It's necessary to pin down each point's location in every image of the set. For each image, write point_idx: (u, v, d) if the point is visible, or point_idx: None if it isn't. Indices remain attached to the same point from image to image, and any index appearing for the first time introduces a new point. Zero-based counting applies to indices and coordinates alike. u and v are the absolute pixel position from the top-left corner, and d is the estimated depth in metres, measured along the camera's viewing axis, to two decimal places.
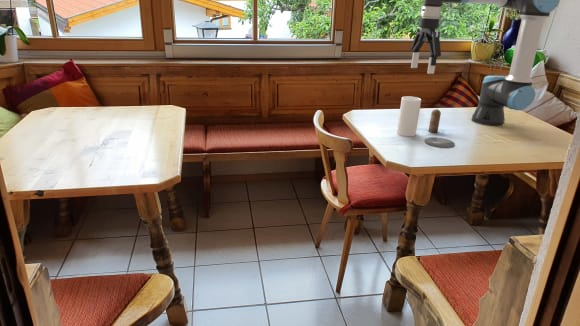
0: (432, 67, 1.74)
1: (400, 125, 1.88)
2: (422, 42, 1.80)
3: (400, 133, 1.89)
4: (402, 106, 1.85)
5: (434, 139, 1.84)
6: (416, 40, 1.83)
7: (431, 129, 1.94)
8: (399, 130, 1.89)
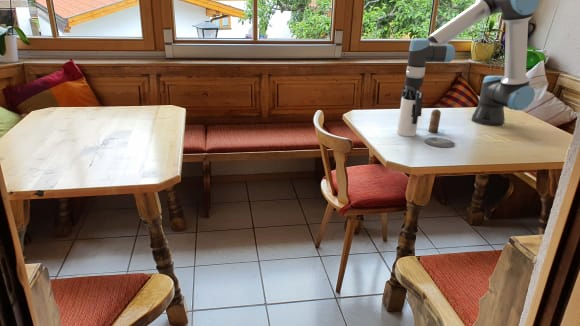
0: (413, 125, 1.85)
1: (400, 125, 1.88)
2: (409, 99, 1.88)
3: (400, 133, 1.89)
4: (402, 106, 1.85)
5: (434, 139, 1.84)
6: None
7: (431, 129, 1.94)
8: (399, 130, 1.89)
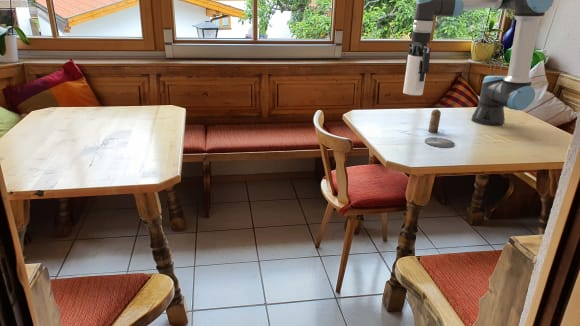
0: (420, 83, 1.78)
1: (406, 84, 1.81)
2: None
3: (406, 92, 1.82)
4: (409, 63, 1.78)
5: (434, 139, 1.84)
6: None
7: (431, 129, 1.94)
8: (405, 89, 1.82)
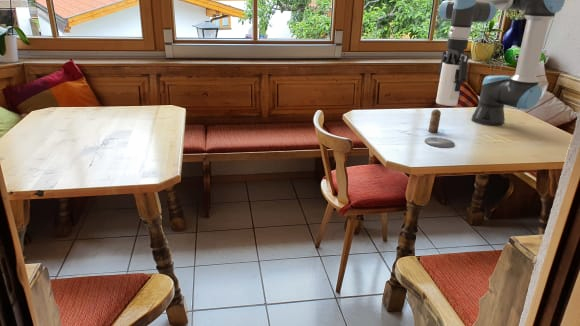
0: (456, 93, 1.68)
1: (440, 93, 1.71)
2: None
3: (440, 102, 1.72)
4: (443, 72, 1.68)
5: (434, 139, 1.84)
6: None
7: (431, 129, 1.94)
8: (439, 99, 1.72)
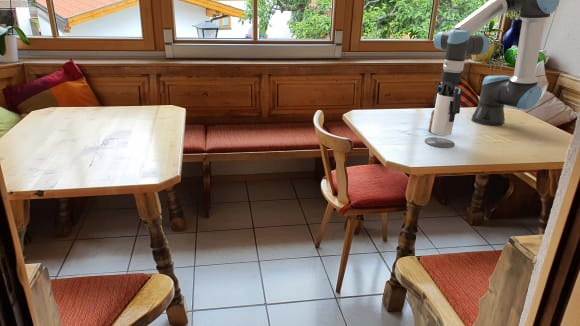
0: (450, 123, 1.73)
1: (435, 123, 1.76)
2: (444, 95, 1.76)
3: (435, 132, 1.76)
4: (438, 103, 1.73)
5: (434, 139, 1.84)
6: None
7: None
8: (434, 129, 1.77)
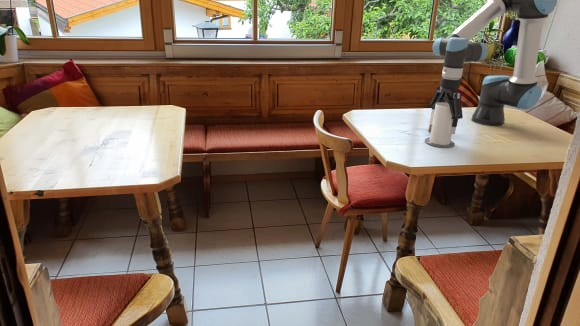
0: (453, 128, 1.71)
1: (434, 133, 1.77)
2: (442, 100, 1.78)
3: (433, 141, 1.78)
4: (436, 113, 1.74)
5: None
6: (436, 97, 1.80)
7: None
8: (432, 138, 1.78)
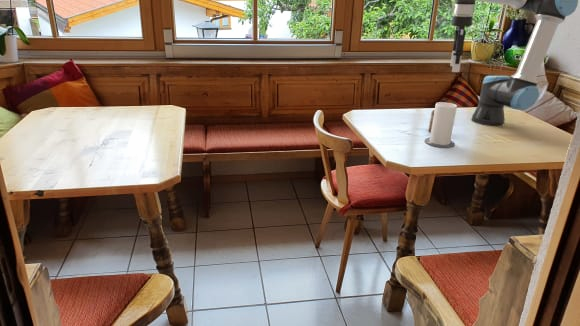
0: (457, 65, 1.72)
1: (434, 133, 1.77)
2: None
3: (433, 141, 1.78)
4: (436, 113, 1.74)
5: None
6: None
7: None
8: (432, 138, 1.78)
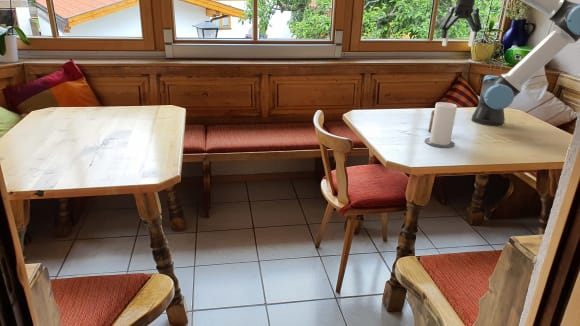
0: (444, 40, 1.93)
1: (434, 133, 1.77)
2: (469, 20, 1.92)
3: (433, 141, 1.78)
4: (436, 113, 1.74)
5: None
6: (474, 19, 1.94)
7: None
8: (432, 138, 1.78)
